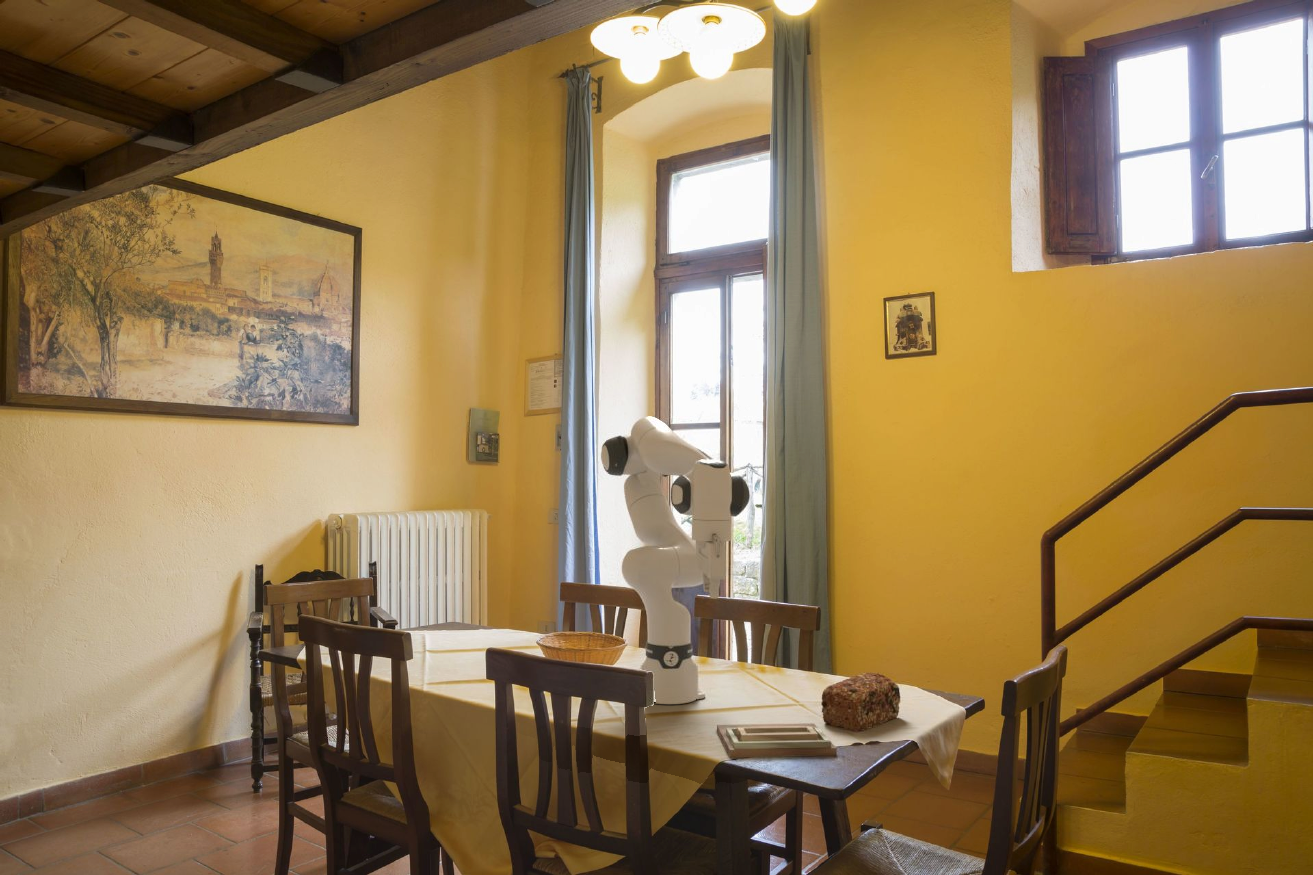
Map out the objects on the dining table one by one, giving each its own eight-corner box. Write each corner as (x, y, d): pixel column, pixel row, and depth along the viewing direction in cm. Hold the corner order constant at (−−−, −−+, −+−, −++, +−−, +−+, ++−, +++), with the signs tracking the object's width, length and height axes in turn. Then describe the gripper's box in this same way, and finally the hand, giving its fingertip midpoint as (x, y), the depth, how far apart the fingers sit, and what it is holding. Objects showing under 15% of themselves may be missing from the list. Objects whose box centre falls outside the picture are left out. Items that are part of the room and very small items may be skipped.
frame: (736, 736, 186) (736, 726, 186) (810, 735, 187) (810, 725, 187) (741, 745, 180) (741, 735, 180) (818, 743, 181) (818, 734, 181)
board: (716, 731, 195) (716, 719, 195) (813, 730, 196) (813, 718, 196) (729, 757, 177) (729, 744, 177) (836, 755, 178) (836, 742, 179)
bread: (864, 709, 215) (863, 668, 215) (903, 718, 207) (902, 676, 207) (819, 724, 202) (819, 680, 202) (859, 734, 194) (858, 688, 195)
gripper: (733, 536, 184) (732, 602, 184) (718, 529, 205) (718, 588, 204) (703, 536, 184) (703, 602, 183) (691, 529, 204) (691, 588, 204)
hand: (710, 595), depth 194 cm, fingers open, 8 cm apart
